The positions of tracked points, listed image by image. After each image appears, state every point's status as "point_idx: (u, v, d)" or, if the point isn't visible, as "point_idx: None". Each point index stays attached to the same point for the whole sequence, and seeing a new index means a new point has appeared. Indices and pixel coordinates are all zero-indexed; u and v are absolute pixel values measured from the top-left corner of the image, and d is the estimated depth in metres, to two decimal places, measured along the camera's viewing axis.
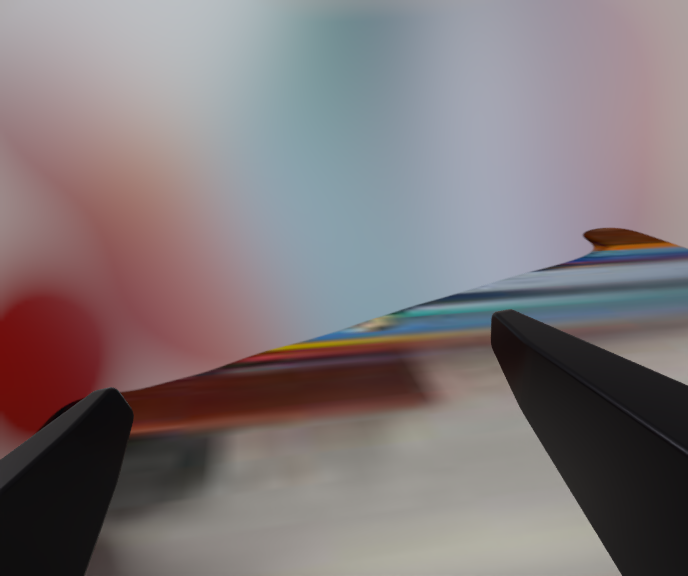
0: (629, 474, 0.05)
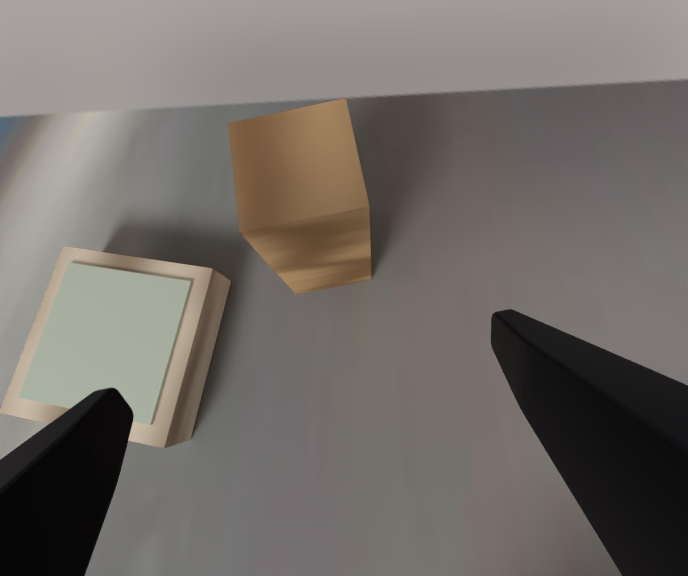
0: (629, 474, 0.05)
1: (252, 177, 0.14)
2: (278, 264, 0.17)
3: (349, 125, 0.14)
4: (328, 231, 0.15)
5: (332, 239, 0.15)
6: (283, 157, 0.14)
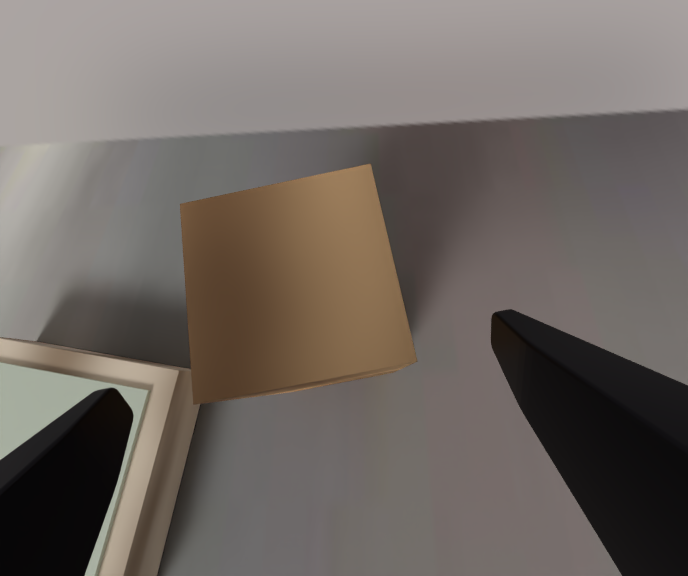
0: (629, 474, 0.05)
1: (217, 301, 0.08)
2: (266, 394, 0.12)
3: (377, 210, 0.09)
4: (343, 377, 0.09)
5: (348, 377, 0.10)
6: (268, 265, 0.08)
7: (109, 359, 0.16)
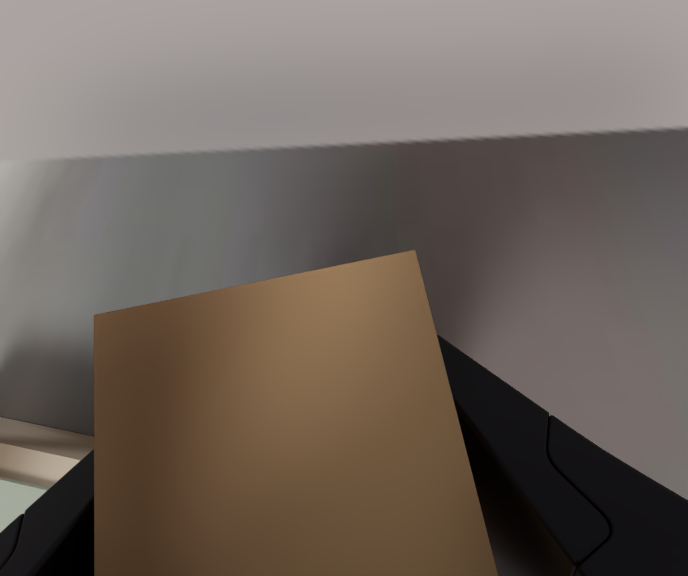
0: (490, 499, 0.05)
1: (149, 507, 0.05)
2: None
3: (430, 337, 0.05)
4: None
5: None
6: (239, 438, 0.05)
7: (49, 455, 0.12)
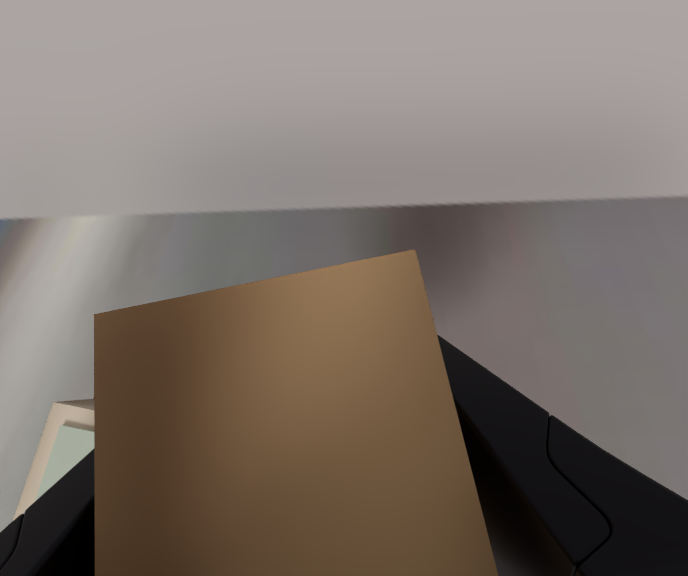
0: (490, 499, 0.05)
1: (148, 506, 0.05)
2: None
3: (430, 336, 0.05)
4: None
5: None
6: (240, 438, 0.05)
7: None
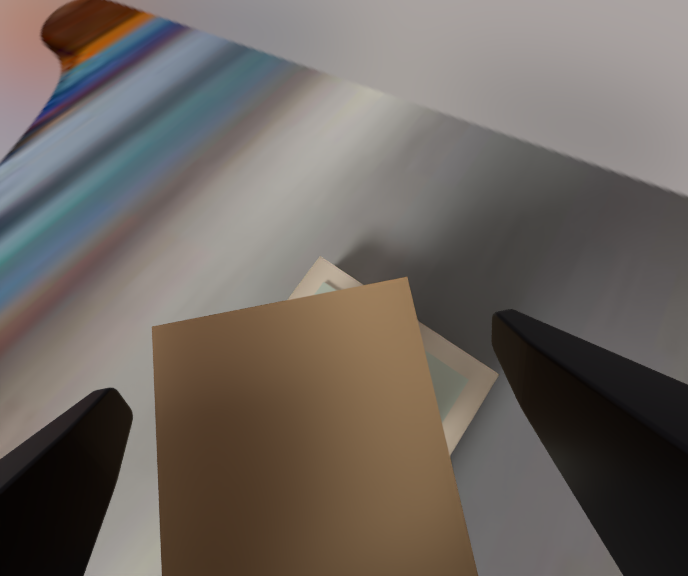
0: (630, 474, 0.05)
1: (200, 476, 0.06)
2: None
3: (418, 346, 0.06)
4: None
5: None
6: (270, 424, 0.06)
7: (434, 333, 0.16)
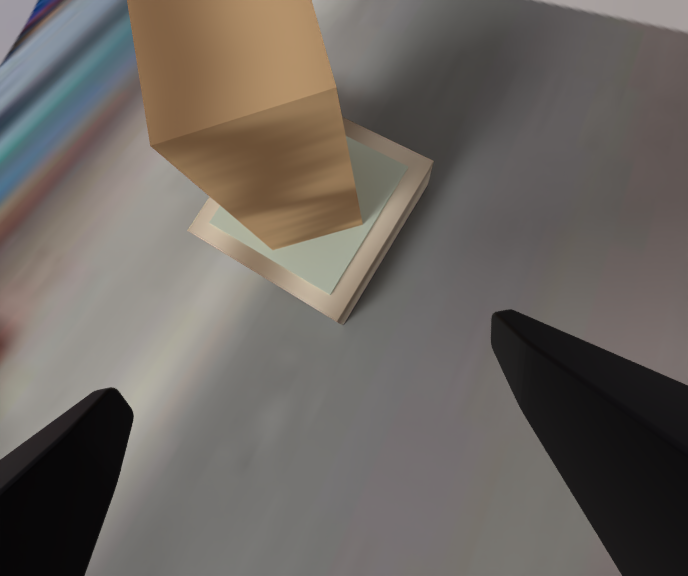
0: (629, 474, 0.05)
1: (164, 65, 0.09)
2: (232, 204, 0.13)
3: None
4: (285, 141, 0.10)
5: (294, 156, 0.11)
6: (206, 31, 0.10)
7: (380, 135, 0.19)
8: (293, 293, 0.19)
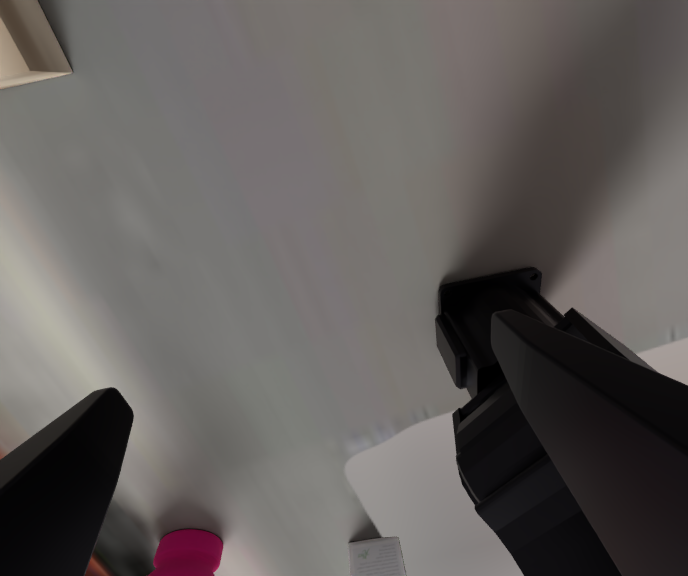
0: (629, 474, 0.05)
1: None
2: None
3: None
4: None
5: None
6: None
7: None
8: None
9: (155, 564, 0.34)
